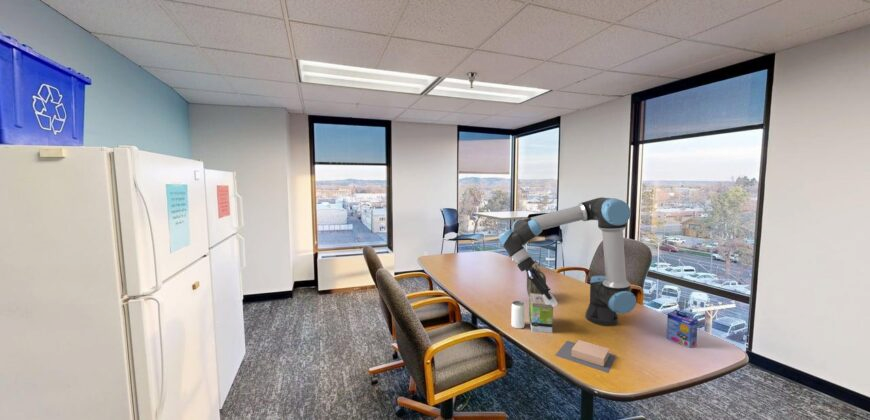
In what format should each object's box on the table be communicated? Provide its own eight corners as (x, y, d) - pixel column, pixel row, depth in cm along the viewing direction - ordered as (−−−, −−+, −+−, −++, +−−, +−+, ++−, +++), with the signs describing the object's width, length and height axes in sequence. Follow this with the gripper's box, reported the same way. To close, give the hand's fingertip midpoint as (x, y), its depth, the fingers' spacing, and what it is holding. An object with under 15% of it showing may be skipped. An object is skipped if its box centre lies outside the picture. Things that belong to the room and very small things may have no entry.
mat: (554, 356, 135) (554, 355, 135) (566, 341, 147) (566, 340, 147) (608, 374, 122) (608, 373, 122) (616, 356, 135) (616, 355, 135)
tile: (571, 349, 133) (603, 359, 126) (578, 339, 141) (609, 348, 133) (571, 356, 134) (603, 367, 126) (578, 347, 141) (609, 356, 134)
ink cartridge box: (665, 338, 149) (667, 308, 148) (672, 335, 152) (673, 306, 151) (690, 348, 141) (692, 316, 139) (696, 345, 143) (698, 313, 142)
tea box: (553, 334, 154) (553, 304, 153) (531, 332, 156) (531, 303, 155) (548, 321, 169) (549, 293, 168) (528, 319, 171) (529, 292, 170)
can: (522, 330, 159) (522, 306, 158) (509, 327, 162) (509, 304, 161) (526, 325, 164) (526, 302, 163) (513, 322, 168) (513, 299, 167)
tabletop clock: (526, 296, 205) (527, 257, 203) (541, 296, 204) (542, 257, 202) (529, 304, 191) (530, 263, 189) (545, 305, 190) (546, 263, 188)
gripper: (520, 263, 158) (551, 306, 150) (513, 266, 146) (546, 313, 139) (532, 254, 155) (564, 298, 147) (526, 257, 144) (561, 304, 136)
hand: (555, 305), depth 143 cm, fingers closed
